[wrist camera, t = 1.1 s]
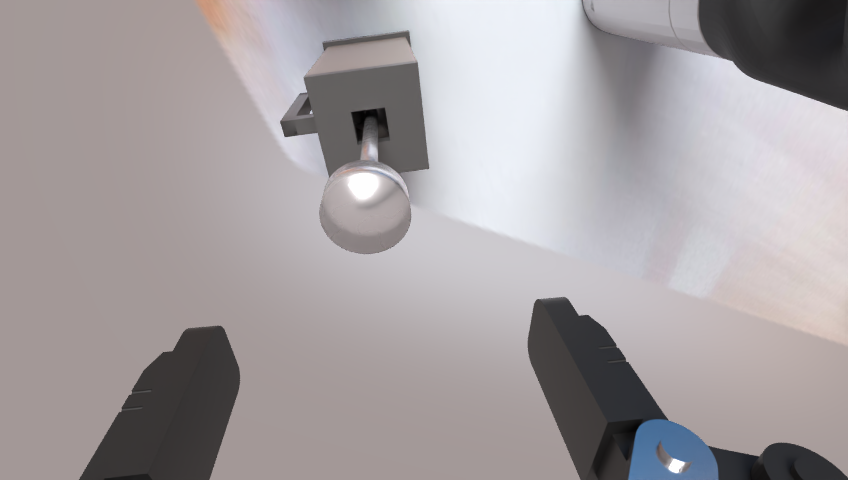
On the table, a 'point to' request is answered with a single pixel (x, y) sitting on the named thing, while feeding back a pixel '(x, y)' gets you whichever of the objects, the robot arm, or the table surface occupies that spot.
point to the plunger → (366, 195)
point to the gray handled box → (363, 101)
